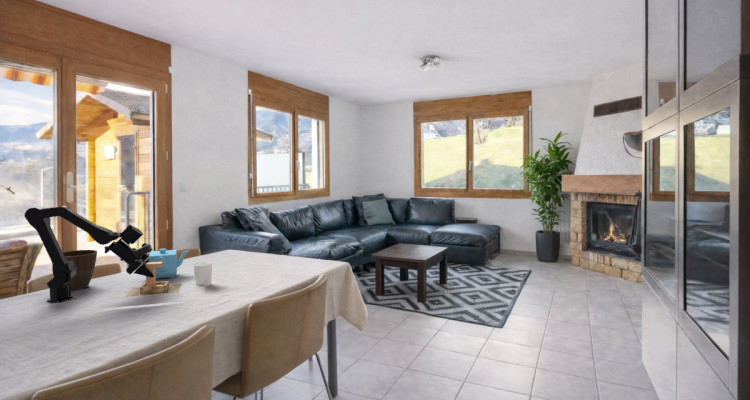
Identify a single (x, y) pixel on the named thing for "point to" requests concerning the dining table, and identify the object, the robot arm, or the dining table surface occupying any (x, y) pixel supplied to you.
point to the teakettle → (166, 262)
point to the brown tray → (154, 289)
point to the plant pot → (82, 267)
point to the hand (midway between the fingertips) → (154, 275)
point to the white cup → (203, 273)
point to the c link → (151, 267)
